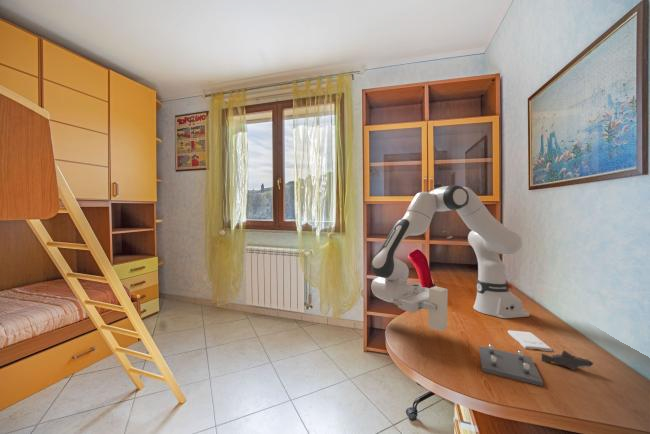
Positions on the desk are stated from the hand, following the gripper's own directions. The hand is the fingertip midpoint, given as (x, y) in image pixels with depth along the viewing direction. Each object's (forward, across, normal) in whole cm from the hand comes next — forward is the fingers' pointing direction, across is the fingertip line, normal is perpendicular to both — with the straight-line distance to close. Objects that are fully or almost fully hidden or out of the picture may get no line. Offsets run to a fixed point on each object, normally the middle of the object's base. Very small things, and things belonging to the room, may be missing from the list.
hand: (440, 305), depth 94 cm
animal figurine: (+31, +17, +14) cm, 38 cm away
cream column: (-1, 0, +8) cm, 8 cm away
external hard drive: (+19, +27, +14) cm, 36 cm away
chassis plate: (+20, +2, +13) cm, 24 cm away
